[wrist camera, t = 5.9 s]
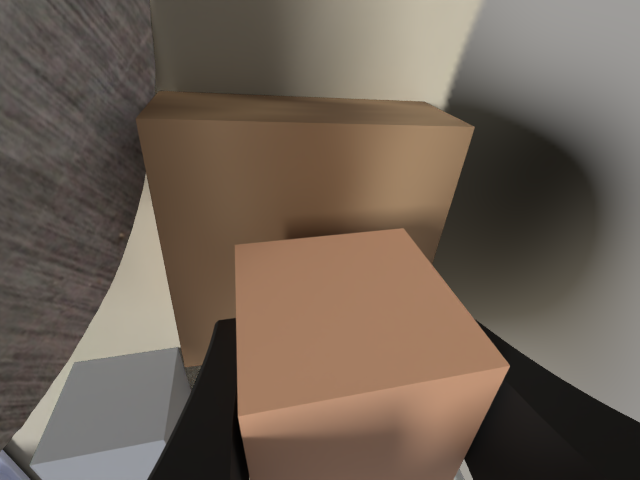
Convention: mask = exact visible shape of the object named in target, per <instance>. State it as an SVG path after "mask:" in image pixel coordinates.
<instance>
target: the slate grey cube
mask: <svg viewBox="0 0 640 480" xmlns="http://www.w3.org/2000/svg"><path fill="white" fill-rule="evenodd" d="M190 393H191V389H190V385H189V382H188V379H187V375H186V372H185V369H184V366H183V362H182V359H181V356H180V352H179V349H178V347H176V348H169V349H163V350H156V351H149V352H142V353H135V354H128V355H122V356H115V357H108V358H101V359H94V360H88V361H81V362H74V364H73V367H72V369H71V371H70V373H69V376H68V378H67V380H66V383H65V385H64V387H63V389H62V392H61V394H60V396H59V399H58V401H57V403H56V405H55V408H54V410H53V412H52V415H51V417H50V419H49V422H48V424H47V426H46V428H45V431H44V433H43V435H42V438H41V440H40V442H39V444H38V447H37V449H36V451H35V454H34V456H33V458H32V460H31V463H30V465H29V466H30V467H31V468H32V469H33V470H34V471H35V473H36V474H37V475H38V476H39V477H40V478H41V479H42V480H147V479H148V477H149V475H150V473H151V472H152V470H153V468H154V466H155V464H156V463H157V461H158V459H159V457H160V455H161V453H162V451H163V449H164V447H165V446H166V444H167V442H168V440H169V438H170V436H171V434H172V432H173V430H174V427H175V425H176V423H177V421H178V419H179V417H180V415H181V413H182V411H183V409H184V407H185V404H186V402H187V400H188V398H189V395H190Z"/></svg>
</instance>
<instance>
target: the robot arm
mask: <svg viewBox="0 0 640 480" xmlns="http://www.w3.org/2000/svg"><path fill="white" fill-rule="evenodd" d="M474 320H475V319H474ZM475 321H476V322H477V324H478V325H479V326H480V327H481V329H482V330H483V331H484V333H485V334H486V335H487V336H488V338H489V339H490V340H491V342H492V343H493V344H494V345H495V347H496V348H497V349H498V351H499V352H500V353H501V355H502V356H503V357H504V358H505V360H506V361H507V362H508V364H509V365H510V367H509V369H508V371H507V373H506V375H505V377H504V379H503V381H502V383H501V385H500V387H499V389H498V391H497V393H496V395H495V397H494V399H493V401H492V403H491V405H490V407H489V409H488V411H487V413H486V415H485V417H484V419H483V421H482V423H481V425H480V427H479V429H478V431H477V433H476V435H475V437H474V439H473V441H472V443H471V445H470V447H469V449H468V451H467V453H466V456H465V458H464V459H465V462H466V463H467V466H468V468H469V471H470V473H471V475H472V478H473V480H640V423H639V422H638V421H636V420H634V419H632V418H630V417H628V416H626V415H624V414H622V413H620V412H618V411H616V410H615V409H613V408H611V407H609V406H607V405H605V404H603V403H602V402H600V401H598V400H596V399H595V398H593V397H591V396H589V395H588V394H586V393H584V392H582V391H581V390H579V389H577V388H576V387H574V386H572V385H571V384H569V383H567V382H565V381H564V380H562V379H561V378H559V377H557V376H556V375H554V374H553V373H551V372H549V371H548V370H546V369H545V368H543V367H542V366H540V365H539V364H537V363H536V362H534V361H533V360H531V359H530V358H528V357H527V356H525V355H524V354H522V353H521V352H519V351H518V350H517V349H515V348H514V347H512V346H511V345H509V344H508V343H507V342H505V341H504V340H502V339H501V338H500V337H498V336H497V335H495V334H494V333H493V332H491V331H490V330H489V329H487V328H486V327H485V326H483V325H482V324H481V323H479V322H478V321H477V320H475ZM0 480H30V478H29V477H28V476H27V475H26V474H25V473H24V472H23V471H22V470H21V469H20V468H19V467H18V466H17V465H16V464H15V462H14V461H13V460H12V459H11V458H10V457H9V456H8V455H7V454H6V453H5V452H4V451H3V450H1V452H0ZM147 480H249V471H248V466H247V460H246V455H245V450H244V445H243V440H242V435H241V430H240V425H239V419H238V393H237V340H236V318H231V319H223V320H218V321H217V322H216V323H215V325H214V329H213V333H212V337H211V340H210V344H209V347H208V350H207V353H206V355H205V358H204V361H203V364H202V366H201V369H200V371H199V374H198V376H197V379H196V381H195V383H194V386H193V388H192V391H191V393H190V395H189V398H188V400H187V402H186V404H185V407H184V409H183V411H182V413H181V415H180V417H179V419H178V421H177V423H176V425H175V427H174V430H173V432H172V434H171V436H170V438H169V440H168V442H167V444H166V446H165V447H164V449H163V451H162V453H161V455H160V457H159V459H158V461H157V463H156V464H155V466H154V468H153V470H152V472H151V473H150V475H149V477H148V479H147Z"/></svg>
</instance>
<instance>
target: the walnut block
mask: <svg viewBox="0 0 640 480" xmlns="http://www.w3.org/2000/svg"><path fill="white" fill-rule="evenodd" d="M135 119H136V124H137V129H138V134H139V139H140V144H141V149H142V154H143V159H144V164H145V169H146V174H147V179H148V184H149V189H150V194H151V199H152V204H153V209H154V214H155V219H156V224H157V230H158V235H159V240H160V245H161V250H162V255H163V260H164V265H165V270H166V275H167V280H168V285H169V290H170V295H171V300H172V305H173V310H174V315H175V320H176V325H177V330H178V335H179V340H180V345H181V350H182V355H183V360H184V365H185V367H191V366H199V365H202V364H203V361H204V358H205V355H206V353H207V350H208V347H209V344H210V340H211V337H212V333H213V329H214V325H215V323H216V322H217V321H218V320H223V319H231V318H236V286H235V245H238V244H248V243H258V242H268V241H279V240H289V239H299V238H309V237H319V236H329V235H339V234H350V233H360V232H370V231H380V230H390V229H400V228H404V229H405V231H406V232H407V233H408V235H409V236H410V237H411V238H412V240H413V241H414V242H415V244H416V245H417V246H418V248H419V249H420V250H421V251H422V253H423V254H424V255H425V257H426V258H427V259H428V260H429V262H430V263H431V264H432V263H433V260H434V257H435V254H436V250H437V247H438V244H439V240H440V237H441V234H442V231H443V228H444V224H445V221H446V218H447V215H448V211H449V209H450V205H451V202H452V199H453V196H454V192H455V189H456V186H457V183H458V180H459V176H460V173H461V170H462V167H463V164H464V160H465V157H466V154H467V151H468V147H469V144H470V141H471V138H472V135H473V131H474V128H475V127H474V126H472V125H470V124H468V123H466V122H464V121H462V120H460V119H458V118H455V117H454V116H452V115H450V114H448V113H446V112H444V111H442V110H440V109H438V108H436V107H434V106H432V105H430V104H428V103H426V102H418V101H394V100H369V99H344V98H320V97H295V96H271V95H246V94H221V93H197V92H172V91H158V92H157V94H156V95H155V96H154V97H153V98H152V100H151V101H150V102H149V103H148V104H147V105H146V107H145V108H144V109H143V110H142V111H141V113H140V114H139V115H138V116H137V117H136V118H135Z"/></svg>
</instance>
